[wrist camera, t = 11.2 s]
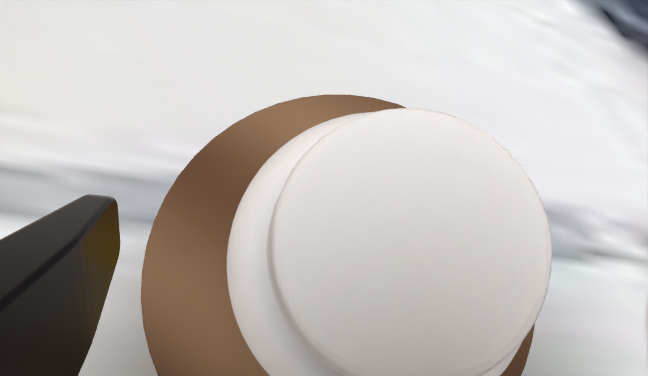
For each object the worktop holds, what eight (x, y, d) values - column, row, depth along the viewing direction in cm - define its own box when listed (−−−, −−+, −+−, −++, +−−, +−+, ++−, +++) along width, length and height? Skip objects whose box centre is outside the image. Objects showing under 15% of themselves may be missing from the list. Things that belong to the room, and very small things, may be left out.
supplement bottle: (379, 168, 19) (493, -3, 9) (462, 330, 18) (690, 337, 8) (216, 243, 18) (144, 145, 8) (295, 418, 17) (323, 547, 7)
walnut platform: (393, 546, 19) (414, 585, 16) (87, 343, 20) (55, 346, 17) (557, 236, 22) (599, 222, 19) (283, 66, 23) (285, 28, 20)
